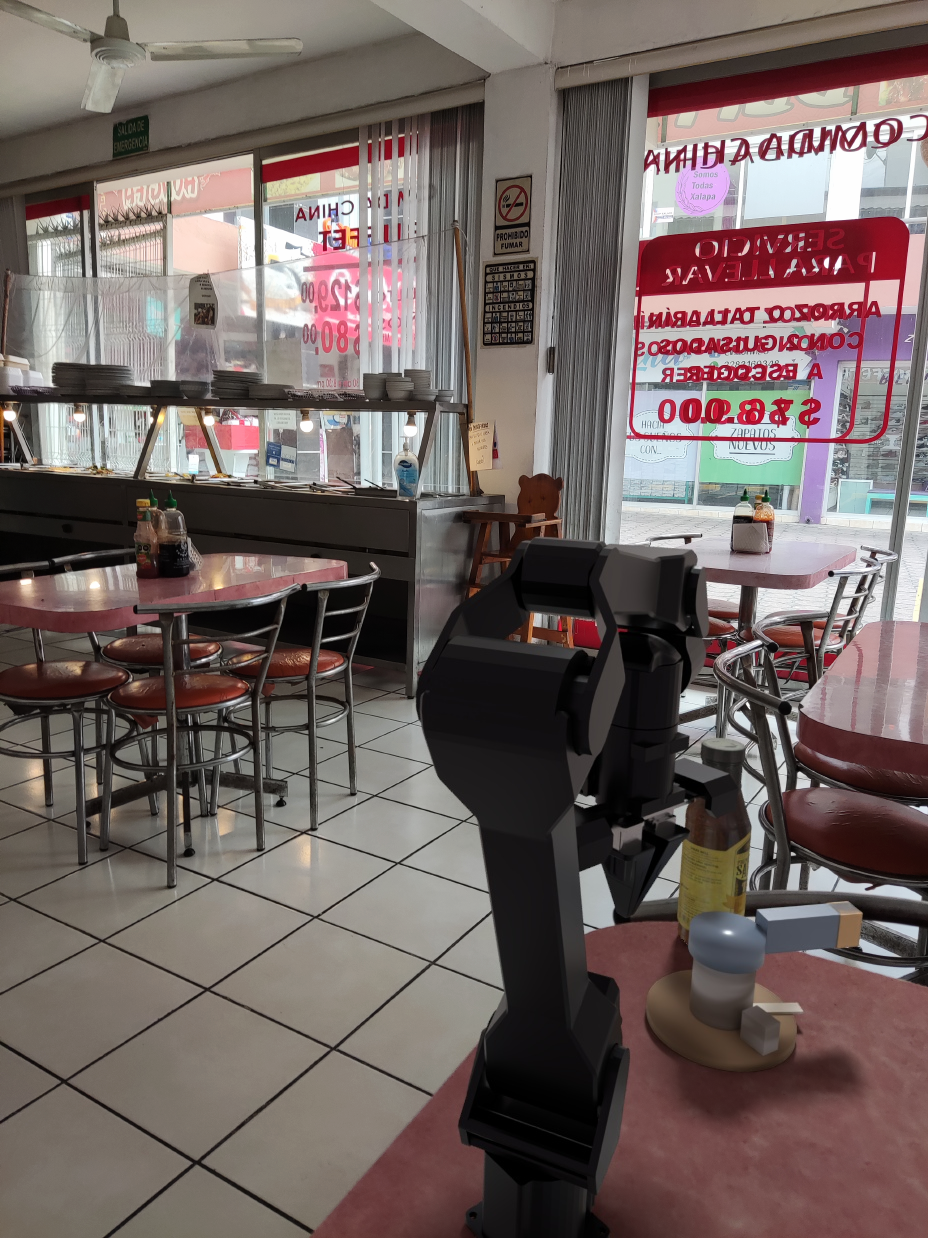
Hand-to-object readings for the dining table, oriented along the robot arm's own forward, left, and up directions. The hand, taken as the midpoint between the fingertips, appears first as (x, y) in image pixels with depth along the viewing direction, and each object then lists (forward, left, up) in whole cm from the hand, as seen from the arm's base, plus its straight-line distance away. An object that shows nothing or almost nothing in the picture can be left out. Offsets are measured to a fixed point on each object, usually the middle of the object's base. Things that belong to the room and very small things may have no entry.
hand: (624, 914), depth 68 cm
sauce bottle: (+20, +6, -12) cm, 24 cm away
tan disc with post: (+10, -3, -12) cm, 16 cm away
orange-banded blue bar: (+14, -4, -6) cm, 16 cm away
